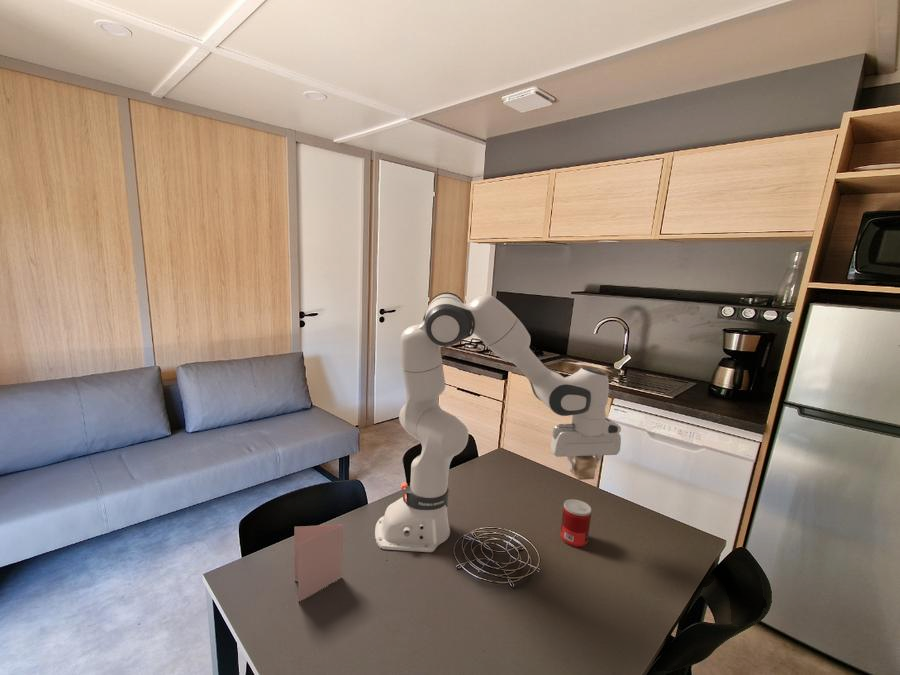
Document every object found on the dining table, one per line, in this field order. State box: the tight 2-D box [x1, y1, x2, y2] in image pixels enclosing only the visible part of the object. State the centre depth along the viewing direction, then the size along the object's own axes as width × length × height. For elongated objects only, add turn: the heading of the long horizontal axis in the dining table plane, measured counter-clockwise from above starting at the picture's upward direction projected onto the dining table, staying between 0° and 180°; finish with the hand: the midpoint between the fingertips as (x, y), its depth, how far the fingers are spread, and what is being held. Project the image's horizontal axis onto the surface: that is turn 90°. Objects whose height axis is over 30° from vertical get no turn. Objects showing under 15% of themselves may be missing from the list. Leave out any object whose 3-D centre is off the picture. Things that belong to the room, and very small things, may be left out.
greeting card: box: [293, 523, 344, 603], centre depth 95 cm, size 11×7×15 cm, turn 100°
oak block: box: [569, 456, 597, 481], centre depth 116 cm, size 5×5×6 cm
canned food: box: [560, 499, 593, 548], centre depth 119 cm, size 8×8×11 cm
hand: (582, 468), depth 116 cm, fingers closed on oak block, 5 cm apart
